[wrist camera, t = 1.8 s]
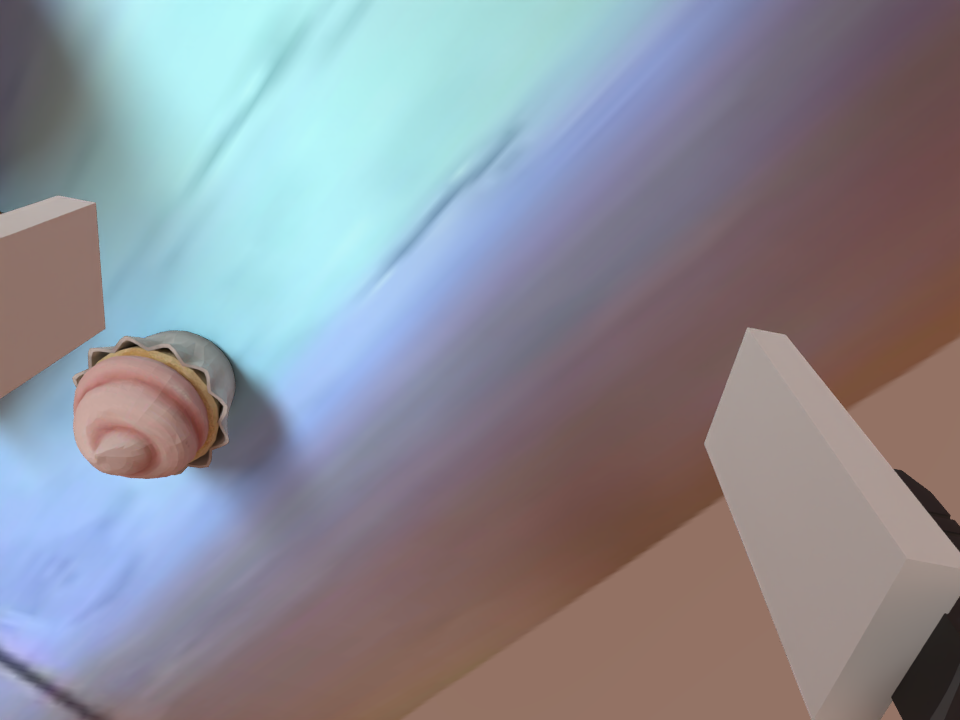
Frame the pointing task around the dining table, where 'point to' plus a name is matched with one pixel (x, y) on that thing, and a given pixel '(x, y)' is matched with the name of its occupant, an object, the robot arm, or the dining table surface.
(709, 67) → the dining table surface
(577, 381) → the dining table surface
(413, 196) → the dining table surface
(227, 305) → the dining table surface
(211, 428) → the cupcake
